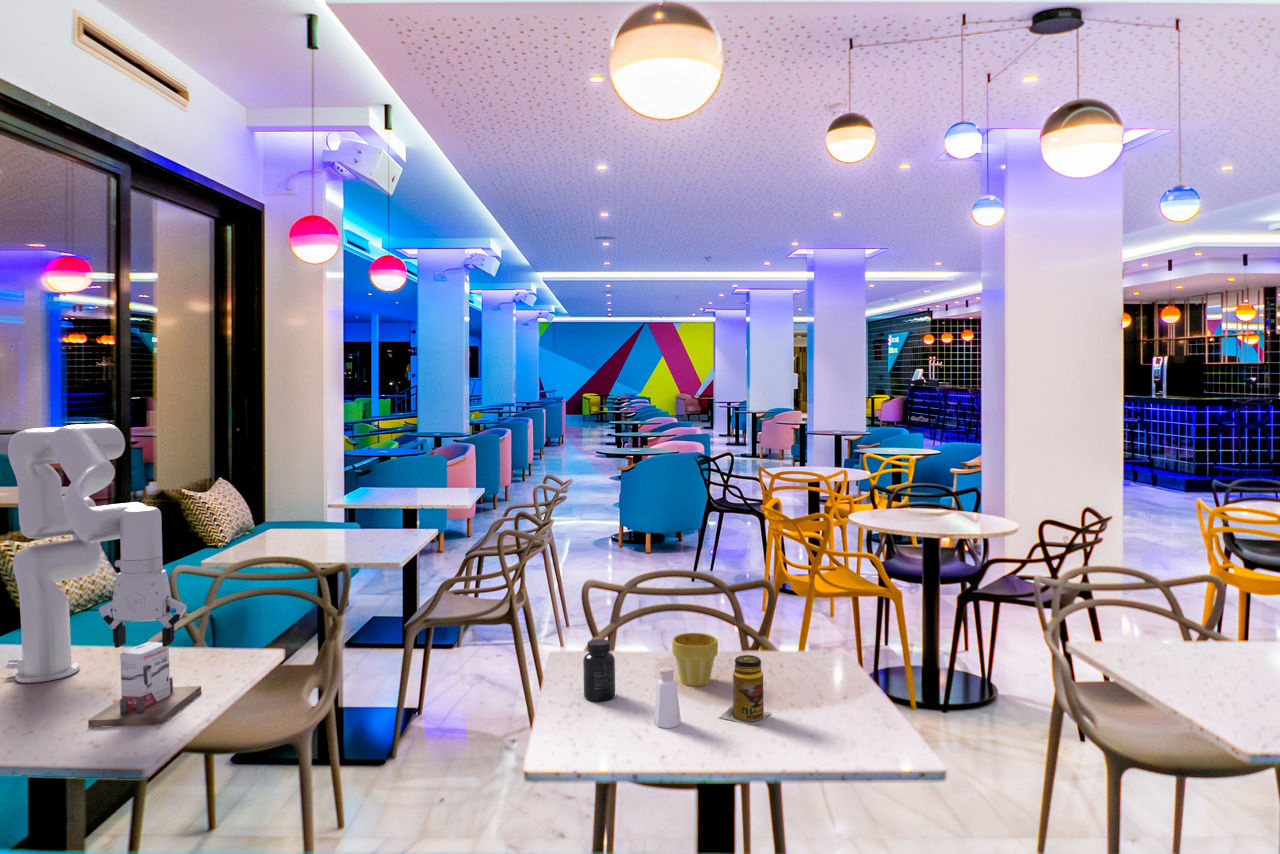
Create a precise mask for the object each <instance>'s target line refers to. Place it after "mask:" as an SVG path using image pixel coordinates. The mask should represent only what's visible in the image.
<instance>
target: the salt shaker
mask: <svg viewBox="0 0 1280 854" xmlns="http://www.w3.org/2000/svg"><path fill="white" fill-rule="evenodd" d="M674 672H675V671H674V668H673V667H670V666H663V667H660V668H659V677H660V678H659V680H657V682H656V683H657V685H656V694H655V706H654V715H653V724H654V725H655V726H656V727H658V728H662V729H673V728H678V726H680V724H681V723H682V719H681V718H682V717H681V713H680V709H681V708H680V703H679V694H678V687H677V681H676V680H675V679H674Z"/></svg>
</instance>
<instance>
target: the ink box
mask: <svg viewBox="0 0 1280 854" xmlns="http://www.w3.org/2000/svg"><path fill="white" fill-rule="evenodd" d="M169 646H170V645H168V646H167V647H163V646H162V642H158V641H148V642H145V643H141V644H139V645H136V646H133V647H131V648H129V649H127V650H124V651H122V652H121V653H120V654H119V655H120V687H121V689H120V690H121V698H128V709H136V699H137V698H139V697H144V708H145V707H147V706H150V705H152V704H154V703H156V702H158V701H160V700H162V699H164V698H166V697H168V696H170V677H171V676H170V654H169V653H170V649H169V648H170V647H169Z"/></svg>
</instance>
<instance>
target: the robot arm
mask: <svg viewBox="0 0 1280 854" xmlns="http://www.w3.org/2000/svg"><path fill="white" fill-rule="evenodd" d="M7 445H8V446H7V453H8V454H7V455H8V460H9V464H10V466H11V468H12V470H13V471H12V472H13V473H14V475H15V479H16V484H17V503H18V505H17V506H18V524H19V528H20V532H21V534H22V536H23V537H25V538H27V539H33V540H38V539H48V538H57V537H64V536H72V539H68V540H67V539H66V540H62V541H61V540H60V541H54V542H45V543H39V544H34V545H29V546H26V547H25V548H22V549H21V550H19V551H18V552H17V553H16V554H15V555H14V557H13V561H12V569H13V573H14V577H15V580H16V584H17V590H18V598H19V599H18V600H19V613H20V631H21V635H20V636H21V653H22V657H21V658H18V657H16V658H15V657H13V658H9V660H8V661H7V664H6V669H7V670H9V669H10V670H12V669H17V672H16V674H15V675H14V680H15V681H16V682H19V683H20V684H21V683H23V684H34V683H35V684H36V683H42V682H49V681H55V680H60V679H62V678H66V677H69V676H71V675H73V674H75V673H77V672H78V671H80V663H78V662H76V661H72V644H71V643H72V642H71V641H72V640H71V623H70V622H71V621H70V620H71V619H70V616H71V615H70V600H69V597H68V595H67V594H66V592H64V591H63V590H62V589H61V588H60V587H59V586H58V585H57V583H59V582H63V581H68V580H73V579H78V578H83V577H84V578H85V577H88V576H89V577H90V576H92V575H93V574H95V573H96V572H97V571H98V570H99V568H100V564H101V552H102V551H101V542H106V541H107V542H108V541H113V540H119V539H120V544H119V545H120V559H119V560H118V559H116V560H115V561H114V566H115V567H116V568H119V569H120V572H118V573H116V576H115V581H114V587H113V593H112V601H110V602H108V603H107V604H104V605H102V606H100V607H99V608H98V611H99V613H100V615H101V617H103V621H104V622H105V623H106V624H107V625H109V628H110V629H111V630H112V642H113V643H114V644H113V645H114V648H115V649H117V648H120V647H121V646H123V645H125V644H126V643H127V635H126V634H127V631H126V629H127V628H126V627H127V626H126V625H125V624H124V623H125V622H155V621H159V622H160V623H161V625H163V628H162V629H161V636H162V637H161V643H162V646H163V647H167V646H168V645H169V646H170V645H172V644H173V643H174V640H175V625H176V624H177V623H178V622H179V621H180V620H181V619H182V618H183V616H184V614H185V612H186V610H187V607H188V606H187V604H185V603H183V602H180V601H178V600H176V599H174V598H172V597H171V589H170V588H171V586H170V583H169V578H168V574H167V571H166V569H163V567H164V566H163V533H162V532H163V531H162V530H163V529H162V512H161V510H160V509H159V508H158V507H157V506H156V507H155V506H149V505H148V506H147V504H145V503H143V502H138V501H137V502H136V501H135V502H125V503H124V502H123V503H113V504H106V505H105V504H104V505H96V502H95V501H94V500H93V499H92V498H91V497H90V496H92V495H93V494H96V493H98V492H99V491H101V490H104V489H105V488H106V487H108V485H110V484H111V483H112V481H113V480H114V478H115V476H116V470H115V467H114V465H113V464H112V462H111V461H110V460H115V459H118V458H119V457H122V455H123V453H124V451H125V448H126V441H125V437H124V434H123V433H122V431H121V430H120V429H119V428H118V427H117V426H116V425H113V424H111V423H87V424H70V425H64V426H61V427H39V428H38V427H37V428H29V429H25V430H19V431H17V432H16V433H14V434H13V435H12V436H11V437H10V439H9V441H8V444H7ZM51 464H59V466H60V467H61V469H62V470H63V471H64V473H65V475H66V477H67V478H68V480H69V481H70V484H69V485H68V486H67V488H66V491H65V492H64V496H63V490H62V486H63V485H62V478H61V476H60V474H59V473H58V472H57V470H56V469H54V467H53V466H51ZM172 608H173V609H175V614H174V615H172V614H171V612H172ZM111 609H112V610H111ZM111 611H112V613H111Z"/></svg>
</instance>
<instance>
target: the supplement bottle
mask: <svg viewBox="0 0 1280 854" xmlns="http://www.w3.org/2000/svg"><path fill="white" fill-rule="evenodd" d="M586 649H587V653H586V654H585V655H584V657H583V662H582V667H583V697H584V698H585V699H586V700H587V701H589V702H593V703H603V702H608V701H611V700H613V699H614V698H615V696H616V659H615V656H614V655H613V654H612V652H610V651H612V650H611V641H610V640H608V639H604V638H595V639H590V640H589V641H587V648H586Z"/></svg>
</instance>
